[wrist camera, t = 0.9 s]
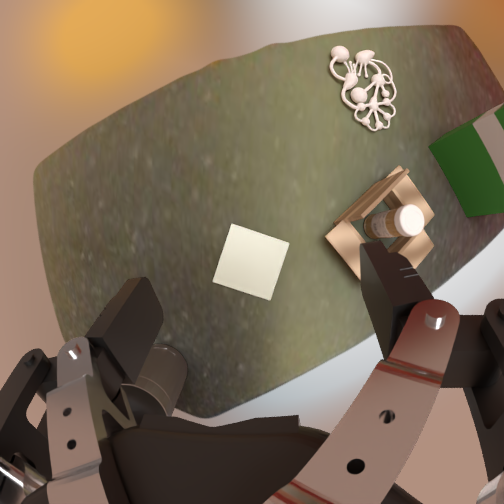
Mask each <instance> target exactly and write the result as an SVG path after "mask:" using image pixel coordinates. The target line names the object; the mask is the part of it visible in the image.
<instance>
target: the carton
mask: <svg viewBox="0 0 504 504" xmlns="http://www.w3.org/2000/svg"><path fill="white" fill-rule="evenodd" d="M409 172H410V171H409V170H408V169H405V170H403V169H402V168H401V167H400V165H399V166H397V167H396V168H395V169H394V170H393V171H392V172H391V173H390V174H389V175H388V176H387V177H386V178H385V179H383V180H381V181H379V182H377V183H375V184H373V185H372V186H371V187H370V188H369V189H368V190H367V191H366V192H365V193H364V194H363V195H362V196H361V197H360V198H359V199H358V200H357V201H356V202H355V203H353V204H352V205H351V206H350V207H349V208H348V209H347V210H346V211H345V212H344V213H343V214H342V215H341V216H340V217H339V218H338V219H337V220H335V221H334V222H333V223H334V224H335V225H336V227H334V228H333V229H332V230H331V231H330V232H329V233H328V234H327V235H326V236H325V237H326V239H327V240H328V241H329V242H330V243H331V245H332V246H333V247H334V248H335V249H336V251H337V252H338V253H339V254H340V256H341V257H342V258H343V259H344V261H345V262H346V263H347V264H348V266H349V267H350V268H351V269H352V271H353V272H354V273H355V274H356V276H357V277H358V278H359V279H360V281H361V277H360V251H359V247H360V244H361V243H366V242H365V241H364V240H363V238H362V237H361V236H360V234H359V233H358V232H357V231H356V229H355V228H354V227H353V226H352V224H351V223H350V222H351V221H355V220H359V219H363V218H364V217H365V216H366V215H367V214H368V213H369V212H370V211H372V210H373V209H374V208H375V207H376V206H377V205H378V203H379V202H380V201H381V200H382V199H383V200H384V202H385V203H386V204H387V205H388V207H389V208H390V209H391V210H392V209H397V208H400V207H401V206H404V205H409V204H412V205H415V206H417V207H418V208H419V209H420V210H421V211H422V213H423V216H424V227H425V226H426V225H427V223H428V222H429V221H430V220H431V219H432V217H433V216H434V215H435V214H434V213H433V211H432V210H431V208H430V207H429V205H428V204H427V202H426V201H425V199H424V198H423V197H422V195H421V194H420V192H419V191H418V189H417V188H416V187H415V185H414V184H413V182H412V181H411V180H410V178H409V177H408V176H407V174H408V173H409ZM424 227H423V228H424ZM433 247H434V245H433V243H432V242H431V240H430V239H429V237H428V235H427V234H426V232H425V231H424V229H423V230H422V231H421V233H419V234H418V235H416V236H411V237H406V236H399V237H398V238H397V239H396V240H395V242H394V243H393V244H392V245H391V246H390V247H389V248H388V249H387V250H388V252H389V253H392V252H398V253H399V254H401V255H403V256H404V257H406V258H407V259H408V260H409V262H410V263H411V264H412V266H413V268H414V269H415V268H416V267H417V266H418V265H419V264H420V262H421V261H422V260H423V259H424V258H425V256H426V255H427V254H428V253H429V252H430V250H431V249H432V248H433Z"/></svg>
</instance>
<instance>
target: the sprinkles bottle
mask: <svg viewBox="0 0 504 504" xmlns="http://www.w3.org/2000/svg"><path fill="white" fill-rule="evenodd" d="M423 227H424V216H423V213H422V211H421V210H420V209H419V208H418V207H417V206H415V205H412V204H409V205H404V206H401V207H400V208H397V209H392V210H388V211H384V212H380V213H377V214H371V215H369V216H368V217H367V218H366V219H365V221H364V230H365V233H366V234H367V235H368V236H369V237H370V238H373V239H378V238H390V237H398V236H406V237H411V236H416V235H418V234H419V233H421V231H422V230H423Z"/></svg>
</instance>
